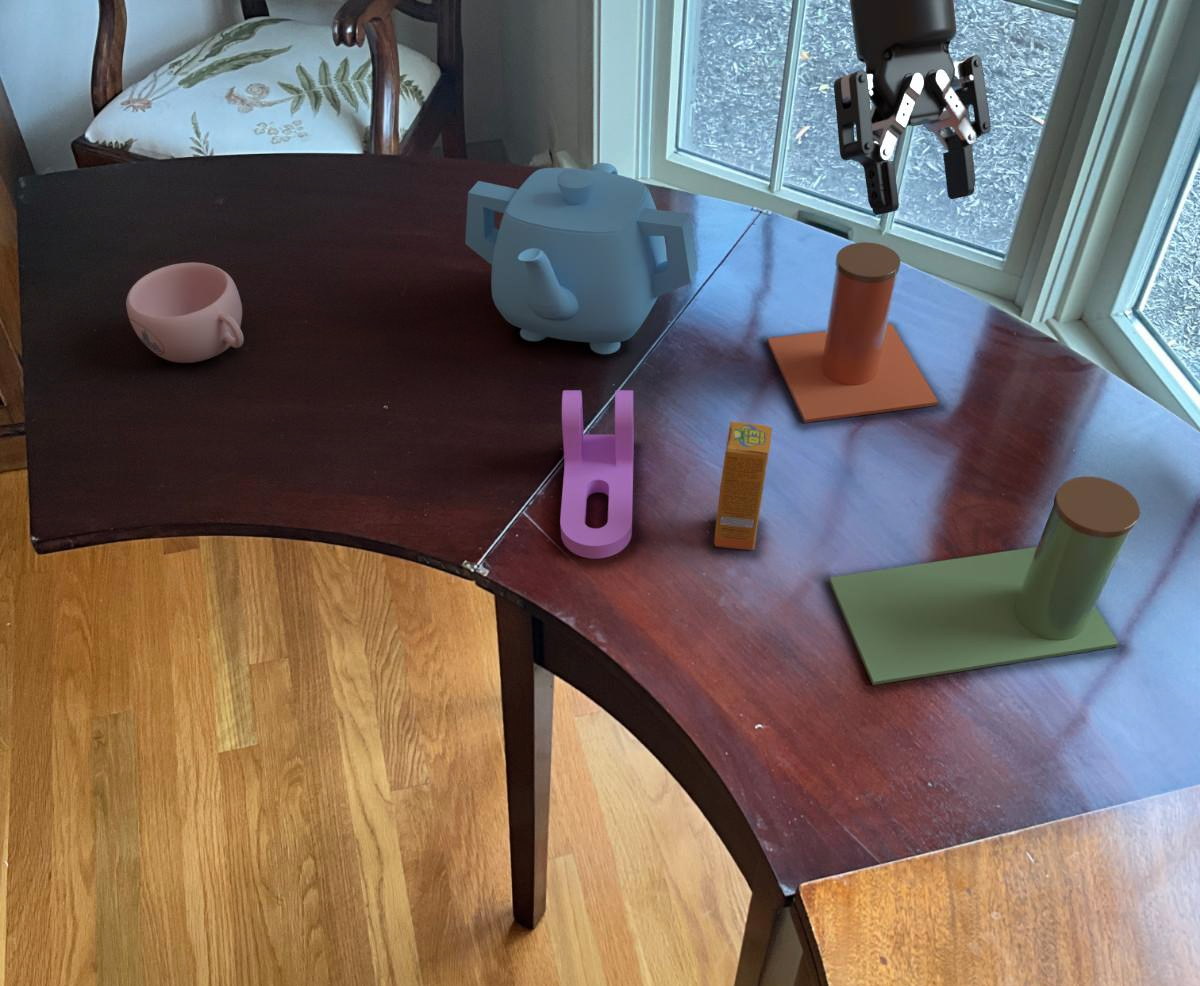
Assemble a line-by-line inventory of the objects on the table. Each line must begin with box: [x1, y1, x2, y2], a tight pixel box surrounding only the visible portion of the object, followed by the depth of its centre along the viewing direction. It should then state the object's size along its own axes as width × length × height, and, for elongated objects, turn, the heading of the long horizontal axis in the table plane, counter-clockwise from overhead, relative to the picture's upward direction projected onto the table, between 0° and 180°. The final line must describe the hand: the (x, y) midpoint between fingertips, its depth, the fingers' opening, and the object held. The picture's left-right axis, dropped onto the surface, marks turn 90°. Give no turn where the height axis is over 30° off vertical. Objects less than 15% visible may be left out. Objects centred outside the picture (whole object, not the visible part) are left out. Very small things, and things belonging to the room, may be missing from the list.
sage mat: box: [828, 546, 1119, 686], centre depth 81 cm, size 18×10×1 cm, turn 100°
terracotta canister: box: [821, 241, 901, 385], centre depth 96 cm, size 5×5×11 cm
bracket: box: [559, 389, 635, 559], centre depth 87 cm, size 13×6×7 cm, turn 178°
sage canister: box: [1015, 476, 1141, 640], centre depth 76 cm, size 5×5×11 cm
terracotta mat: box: [766, 322, 939, 424], centre depth 100 cm, size 12×12×1 cm
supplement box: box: [713, 421, 773, 551], centre depth 83 cm, size 3×3×10 cm
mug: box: [125, 262, 245, 364], centre depth 103 cm, size 12×10×6 cm
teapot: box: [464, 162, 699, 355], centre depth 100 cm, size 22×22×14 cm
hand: (924, 205), depth 89 cm, fingers open, 8 cm apart
